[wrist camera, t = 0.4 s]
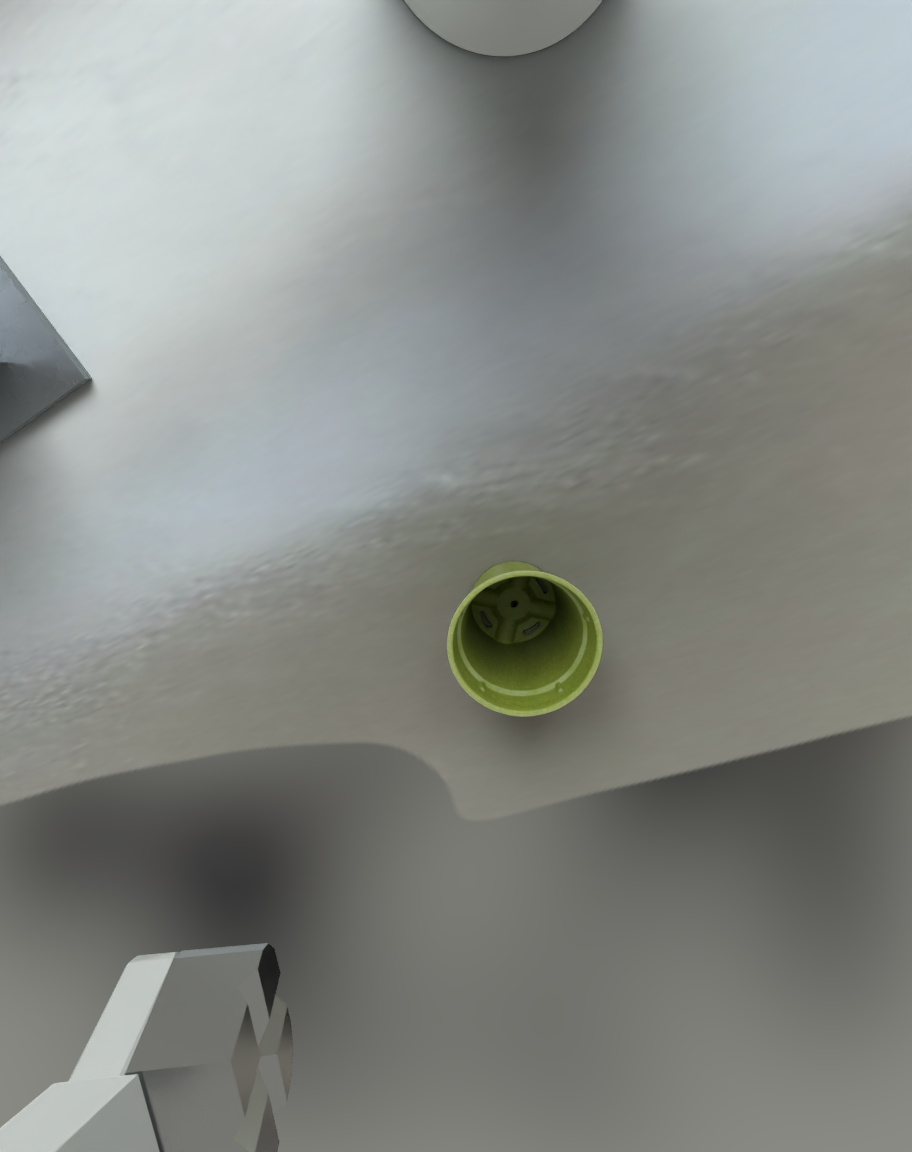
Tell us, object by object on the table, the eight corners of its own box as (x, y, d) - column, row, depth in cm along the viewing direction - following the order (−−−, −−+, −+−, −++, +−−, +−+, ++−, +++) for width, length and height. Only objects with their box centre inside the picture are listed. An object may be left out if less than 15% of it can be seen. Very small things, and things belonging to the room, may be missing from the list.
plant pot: (494, 688, 59) (504, 744, 50) (419, 587, 57) (416, 628, 48) (603, 617, 57) (632, 663, 49) (530, 511, 55) (547, 540, 47)
